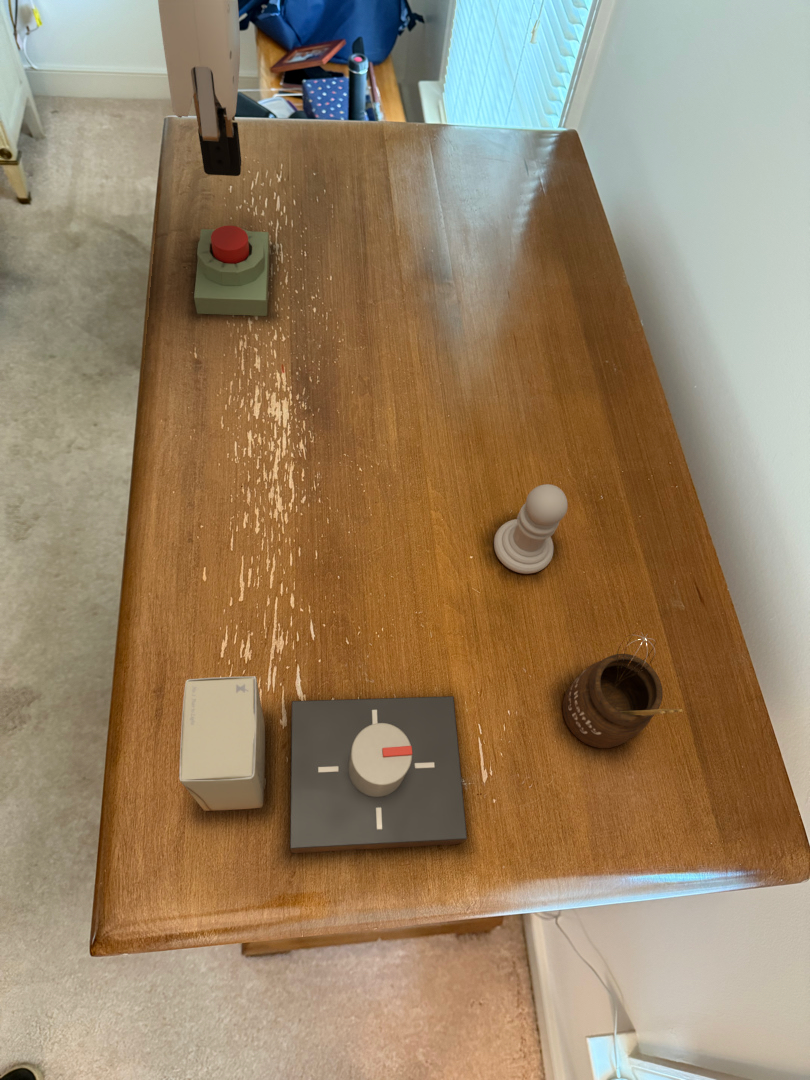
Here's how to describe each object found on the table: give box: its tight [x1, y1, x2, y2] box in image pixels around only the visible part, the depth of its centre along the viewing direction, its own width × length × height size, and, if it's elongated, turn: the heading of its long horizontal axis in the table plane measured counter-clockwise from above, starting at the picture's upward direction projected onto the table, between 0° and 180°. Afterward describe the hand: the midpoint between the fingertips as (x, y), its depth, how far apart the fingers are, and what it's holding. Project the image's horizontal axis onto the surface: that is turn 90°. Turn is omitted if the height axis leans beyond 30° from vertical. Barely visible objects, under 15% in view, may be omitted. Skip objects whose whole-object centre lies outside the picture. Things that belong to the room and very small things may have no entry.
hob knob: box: [349, 723, 412, 797], centre depth 50 cm, size 4×4×5 cm
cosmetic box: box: [178, 675, 266, 812], centre depth 48 cm, size 6×4×12 cm
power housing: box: [193, 227, 271, 317], centre depth 75 cm, size 7×10×4 cm
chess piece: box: [493, 483, 569, 575], centre depth 61 cm, size 5×5×9 cm
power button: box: [211, 224, 249, 264], centre depth 73 cm, size 4×4×2 cm
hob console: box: [289, 695, 468, 854], centre depth 53 cm, size 12×10×3 cm
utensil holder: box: [562, 630, 684, 749], centre depth 53 cm, size 6×6×12 cm
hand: (223, 169), depth 66 cm, fingers closed
